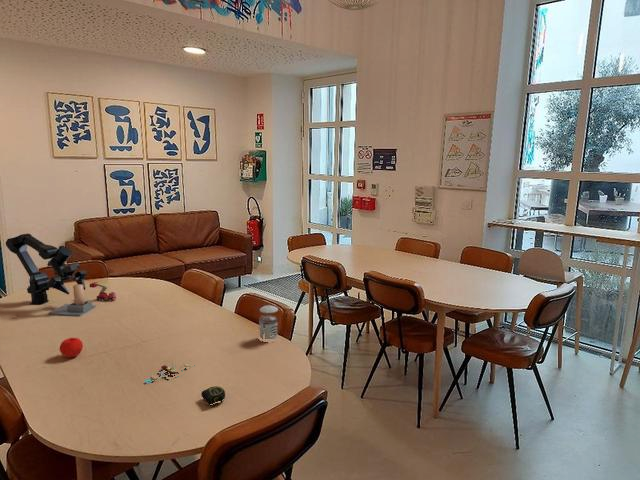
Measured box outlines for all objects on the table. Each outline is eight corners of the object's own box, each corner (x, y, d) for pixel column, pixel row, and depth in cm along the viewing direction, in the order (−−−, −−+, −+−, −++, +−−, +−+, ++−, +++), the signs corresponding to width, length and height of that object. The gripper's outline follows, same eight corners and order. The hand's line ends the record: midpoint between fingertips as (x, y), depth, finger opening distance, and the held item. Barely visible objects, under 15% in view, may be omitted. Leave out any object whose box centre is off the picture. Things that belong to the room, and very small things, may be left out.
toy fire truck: (113, 301, 236) (112, 284, 234) (90, 300, 237) (89, 283, 235) (117, 299, 239) (116, 283, 237) (93, 298, 240) (92, 281, 239)
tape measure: (200, 399, 142) (200, 389, 142) (220, 393, 146) (220, 383, 145) (207, 409, 137) (207, 398, 136) (228, 403, 140) (228, 392, 140)
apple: (59, 362, 164) (58, 344, 163) (60, 354, 171) (59, 336, 170) (83, 358, 168) (82, 340, 167) (83, 350, 175) (82, 333, 174)
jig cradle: (48, 314, 213) (47, 307, 212) (65, 305, 227) (65, 298, 226) (80, 316, 212) (79, 308, 212) (95, 307, 226) (95, 299, 226)
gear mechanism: (137, 379, 154) (150, 389, 148) (137, 365, 153) (150, 374, 148) (186, 361, 169) (200, 369, 163) (186, 348, 168) (200, 356, 163)
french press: (283, 337, 195) (284, 283, 191) (270, 346, 185) (270, 290, 181) (265, 332, 199) (265, 280, 195) (250, 341, 189) (251, 286, 185)
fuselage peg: (75, 311, 216) (73, 287, 214) (75, 308, 220) (73, 285, 218) (85, 309, 219) (83, 286, 216) (84, 307, 222) (82, 283, 220)
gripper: (50, 261, 209) (67, 286, 207) (83, 254, 226) (100, 278, 224) (39, 275, 213) (57, 300, 211) (73, 267, 230) (89, 290, 228)
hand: (76, 291), depth 218 cm, fingers open, 9 cm apart
